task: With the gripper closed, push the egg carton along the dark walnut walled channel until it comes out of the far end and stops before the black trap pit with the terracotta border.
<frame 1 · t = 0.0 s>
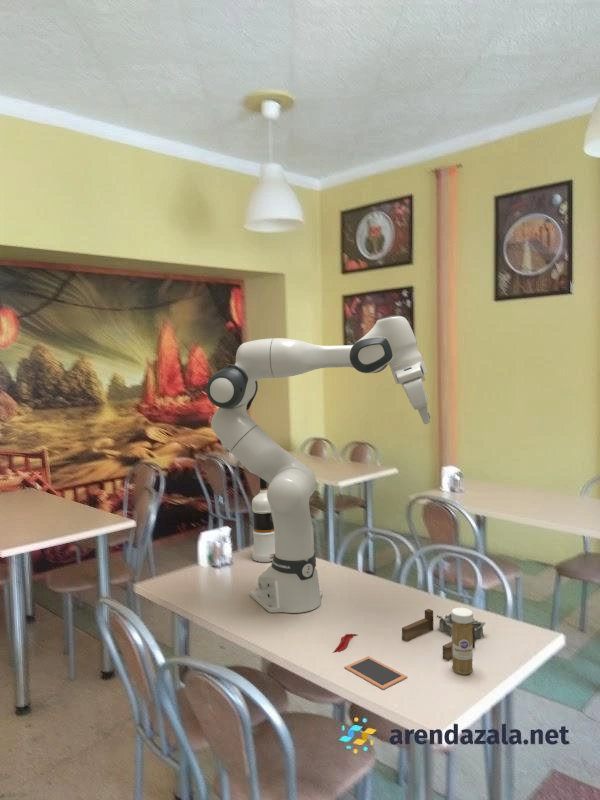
hand: (427, 421, 163), 52 cm above the table, tool tilted 20°, fingers open, 8 cm apart
egg carton: (461, 634, 153), on the table
cayenne pepper: (344, 646, 149), on the table
sprinkles bottle: (462, 671, 135), on the table
walled channel: (437, 643, 148), on the table
trap pit: (375, 672, 135), on the table
vodka: (265, 559, 214), on the table
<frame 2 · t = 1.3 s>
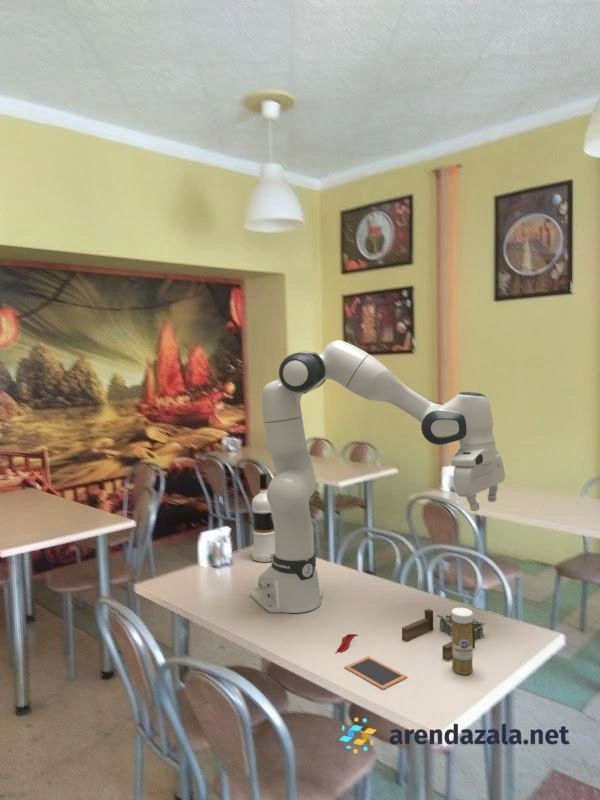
hand: (483, 505, 159), 30 cm above the table, tool pointing down, fingers open, 8 cm apart
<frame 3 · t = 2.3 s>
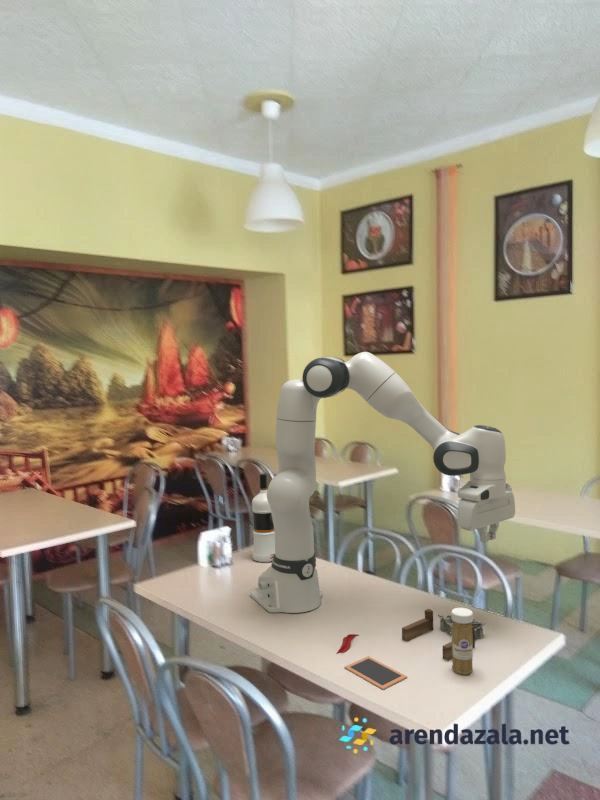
hand: (487, 540, 159), 21 cm above the table, tool pointing down, fingers closed
nothing on the table moved.
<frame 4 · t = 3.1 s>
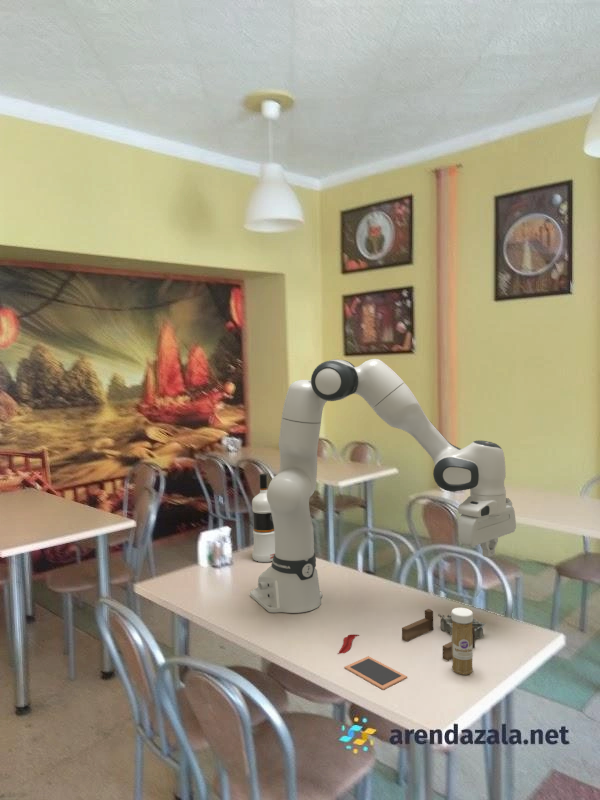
hand: (488, 555, 159), 17 cm above the table, tool pointing down, fingers closed
nothing on the table moved.
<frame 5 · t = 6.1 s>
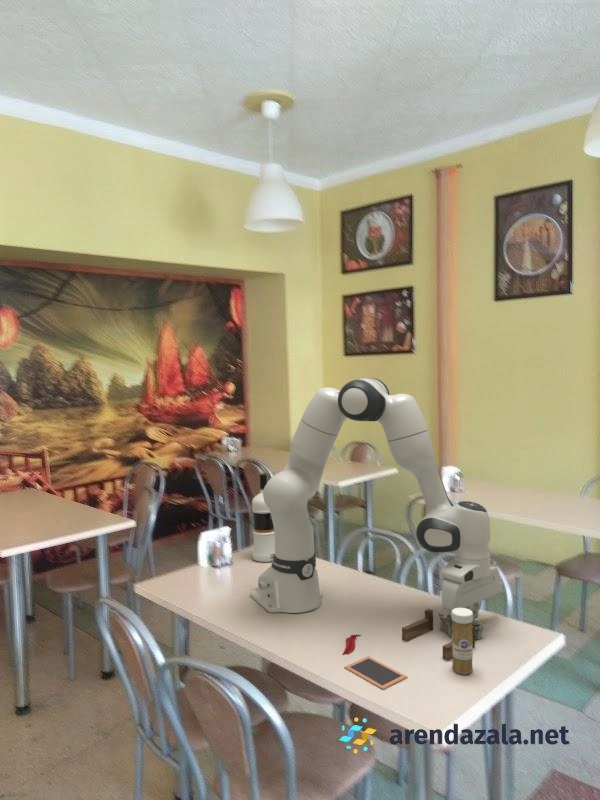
hand: (472, 618, 156), 2 cm above the table, tool pointing down, fingers closed
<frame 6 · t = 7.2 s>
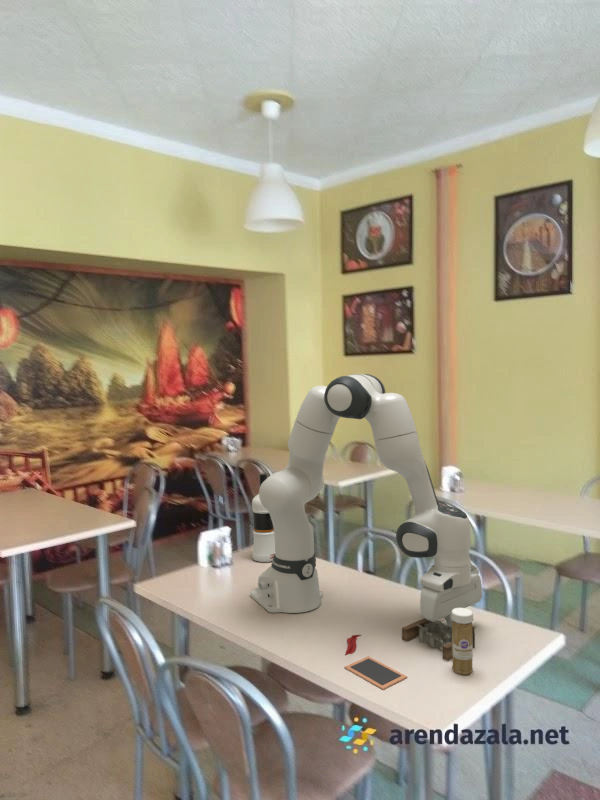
hand: (452, 627, 151), 2 cm above the table, tool pointing down, fingers closed
egg carton: (441, 643, 148), on the table, touching gripper
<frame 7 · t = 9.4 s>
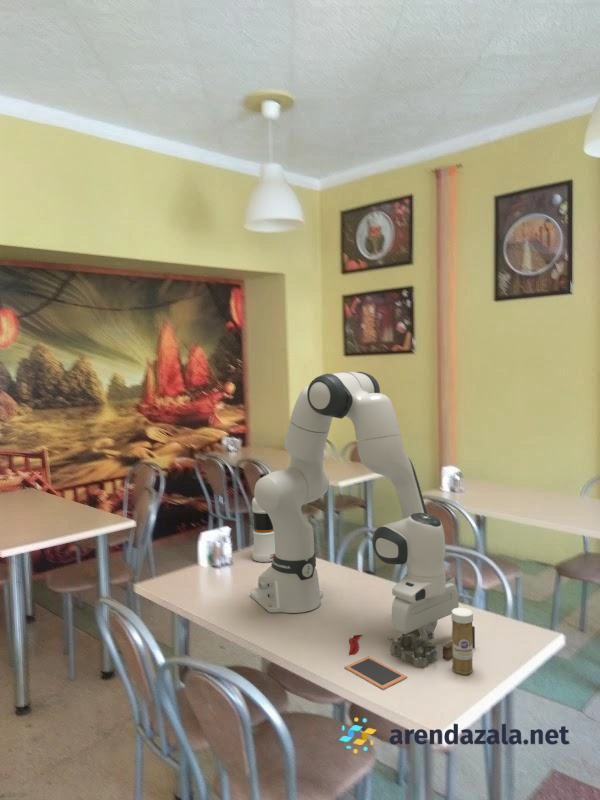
hand: (426, 639, 145), 2 cm above the table, tool pointing down, fingers closed
egg carton: (413, 657, 142), on the table
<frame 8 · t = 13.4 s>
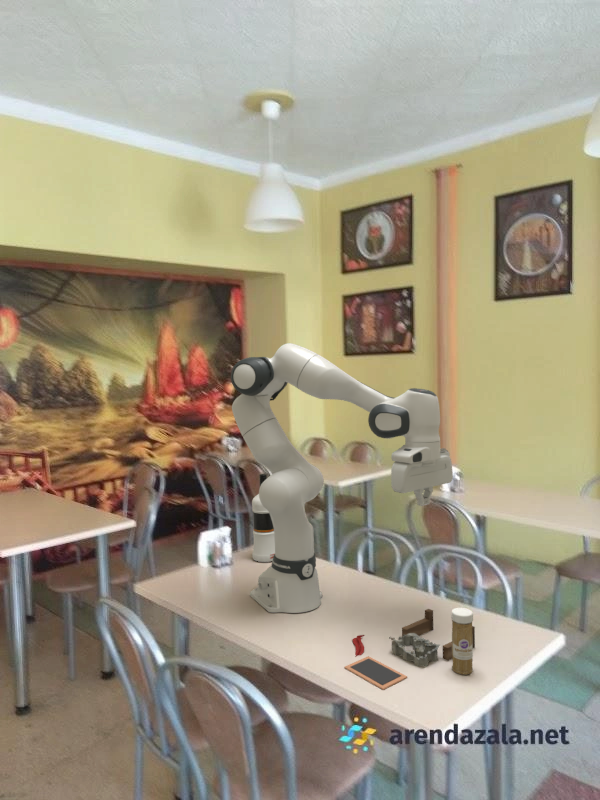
hand: (423, 504, 158), 31 cm above the table, tool pointing down, fingers closed
cayenne pepper: (358, 648, 148), on the table
everything else where it was.
at the end: egg carton inside the target area (1.5 cm from its centre), on the table; egg carton touching table; egg carton tilted 1° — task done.
